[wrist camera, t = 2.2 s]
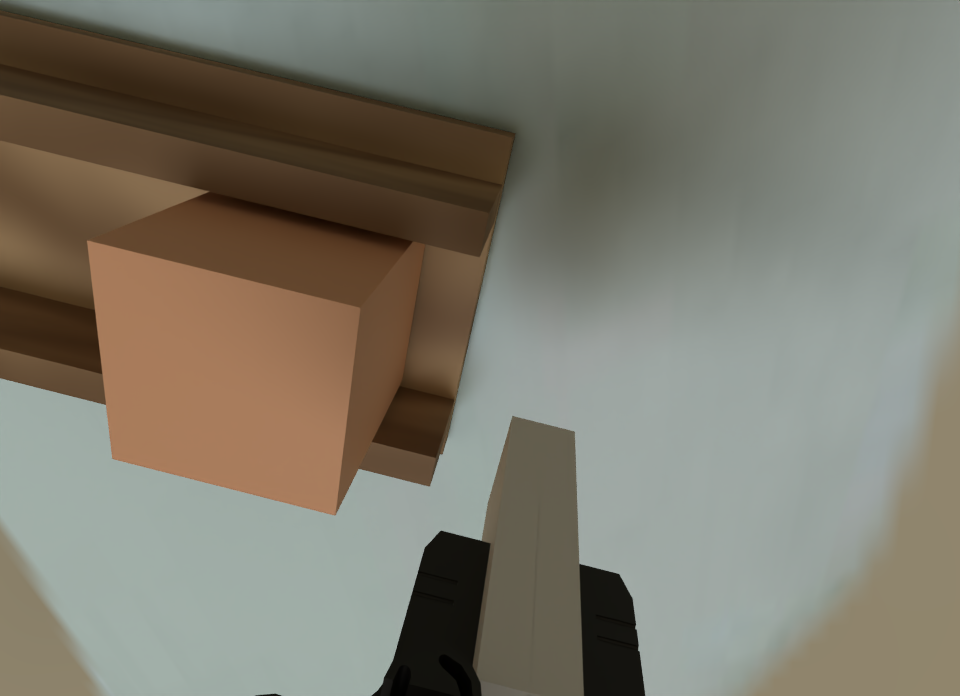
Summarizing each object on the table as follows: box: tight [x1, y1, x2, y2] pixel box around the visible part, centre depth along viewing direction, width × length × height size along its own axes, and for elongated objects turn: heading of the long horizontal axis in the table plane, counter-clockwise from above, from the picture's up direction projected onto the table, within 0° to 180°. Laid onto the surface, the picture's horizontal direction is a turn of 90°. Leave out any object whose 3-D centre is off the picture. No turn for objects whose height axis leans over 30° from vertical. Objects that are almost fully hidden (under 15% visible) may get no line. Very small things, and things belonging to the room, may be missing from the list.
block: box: [87, 192, 425, 515], centre depth 17 cm, size 6×6×7 cm
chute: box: [0, 10, 516, 486], centre depth 19 cm, size 12×26×4 cm, turn 78°
